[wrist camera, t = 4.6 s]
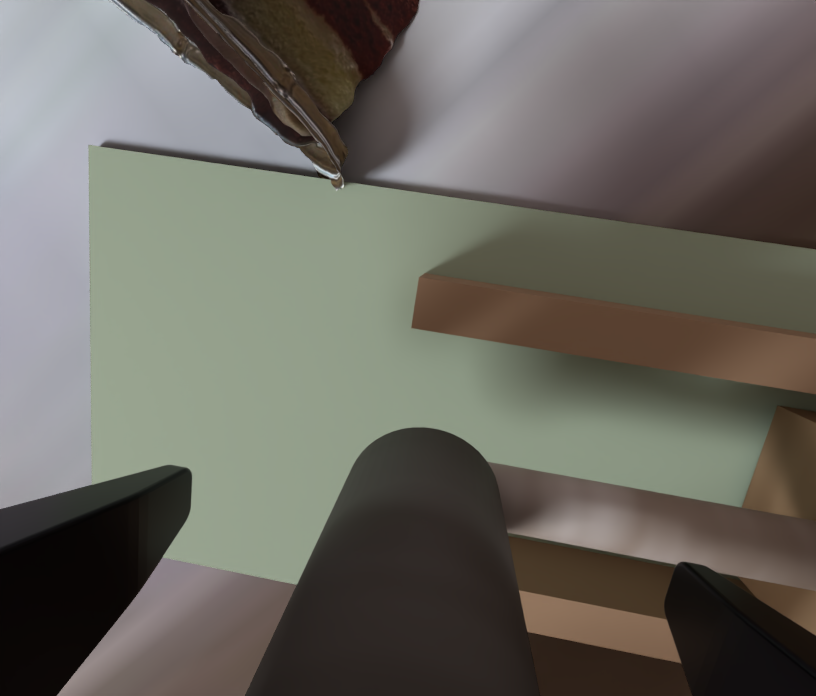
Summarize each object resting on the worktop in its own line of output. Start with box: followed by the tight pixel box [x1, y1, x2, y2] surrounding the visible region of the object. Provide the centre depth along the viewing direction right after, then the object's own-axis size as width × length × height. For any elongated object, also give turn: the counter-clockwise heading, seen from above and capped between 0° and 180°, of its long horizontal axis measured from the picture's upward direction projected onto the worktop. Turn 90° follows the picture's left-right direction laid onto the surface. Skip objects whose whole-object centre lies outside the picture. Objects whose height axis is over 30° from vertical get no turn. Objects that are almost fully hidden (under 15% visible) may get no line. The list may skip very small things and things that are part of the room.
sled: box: [245, 405, 816, 696], centre depth 8 cm, size 5×15×10 cm, turn 82°
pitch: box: [89, 145, 816, 663], centre depth 12 cm, size 13×40×3 cm, turn 82°
